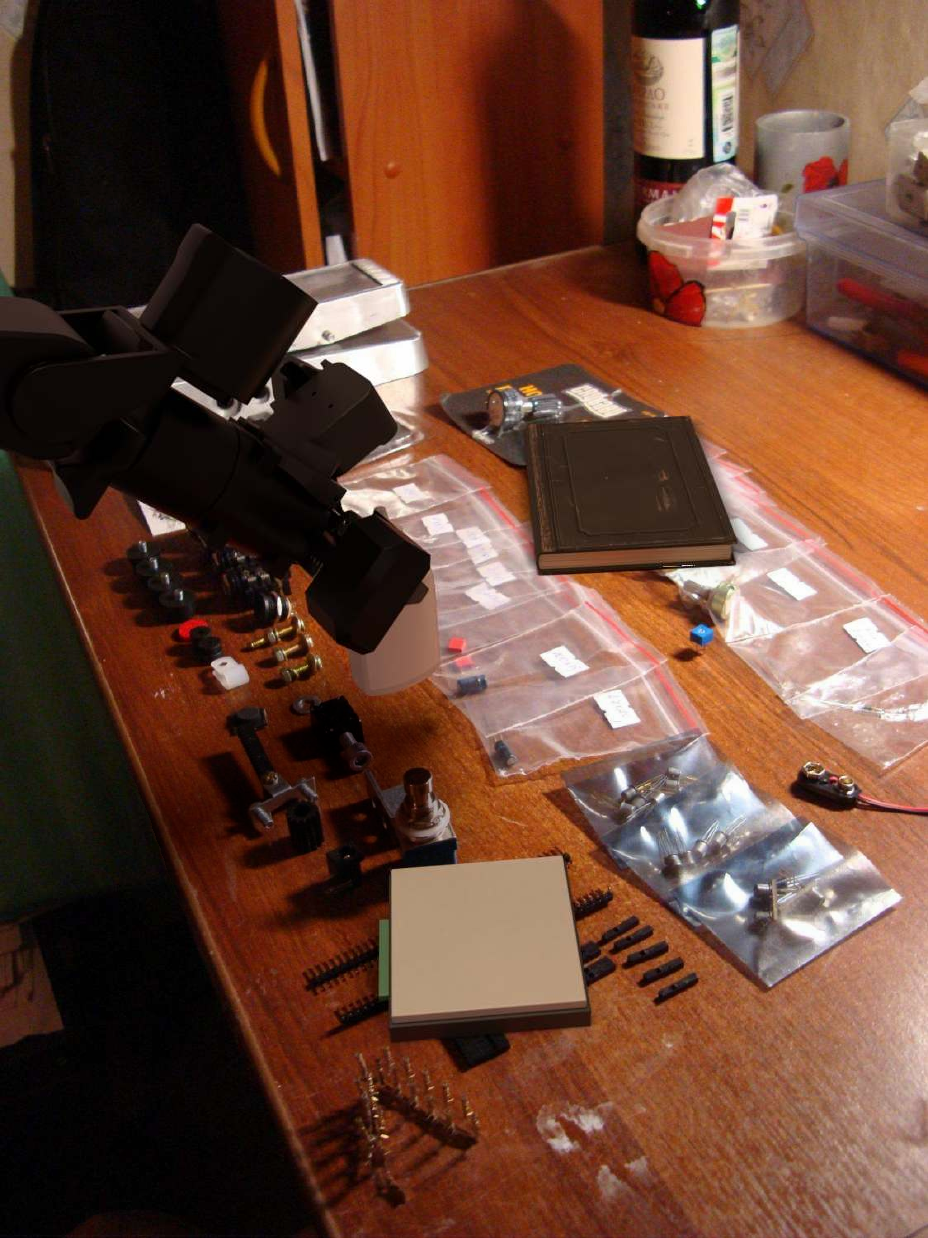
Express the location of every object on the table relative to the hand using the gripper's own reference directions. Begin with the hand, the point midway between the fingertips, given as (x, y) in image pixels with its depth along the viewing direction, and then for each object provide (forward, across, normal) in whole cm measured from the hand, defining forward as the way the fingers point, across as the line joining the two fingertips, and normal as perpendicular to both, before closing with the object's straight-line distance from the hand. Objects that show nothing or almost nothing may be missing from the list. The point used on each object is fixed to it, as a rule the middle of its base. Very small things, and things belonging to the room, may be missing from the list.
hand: (408, 581), depth 69 cm
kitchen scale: (+5, -17, +14) cm, 23 cm away
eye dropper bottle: (+4, 0, +6) cm, 7 cm away
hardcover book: (+31, +18, -12) cm, 38 cm away
